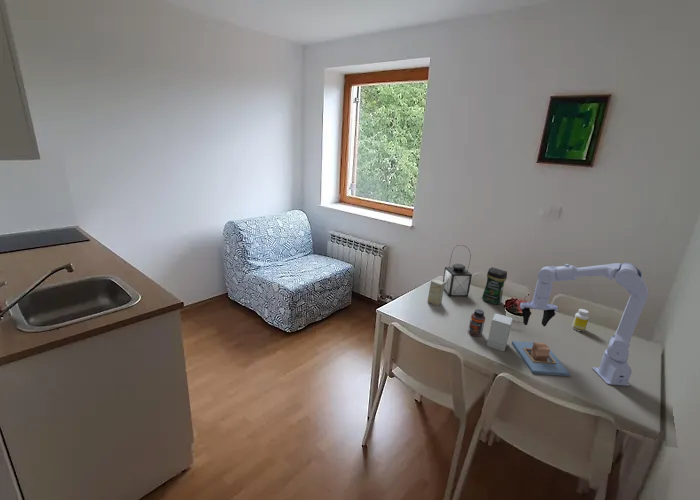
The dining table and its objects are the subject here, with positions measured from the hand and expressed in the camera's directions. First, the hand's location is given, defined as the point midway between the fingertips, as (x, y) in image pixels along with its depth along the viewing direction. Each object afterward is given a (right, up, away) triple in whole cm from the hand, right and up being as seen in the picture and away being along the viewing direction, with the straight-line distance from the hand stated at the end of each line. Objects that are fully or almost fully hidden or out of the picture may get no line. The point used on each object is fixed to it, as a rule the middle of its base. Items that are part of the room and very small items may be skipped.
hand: (534, 324), depth 149 cm
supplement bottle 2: (+31, -6, +20) cm, 37 cm away
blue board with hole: (-1, -13, -5) cm, 14 cm away
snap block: (-1, -13, -5) cm, 14 cm away
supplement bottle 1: (-21, -6, +10) cm, 25 cm away
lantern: (-18, +7, +51) cm, 55 cm away
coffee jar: (-1, +4, +43) cm, 43 cm away
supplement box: (-15, -9, +3) cm, 18 cm away
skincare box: (-33, +3, +37) cm, 50 cm away
